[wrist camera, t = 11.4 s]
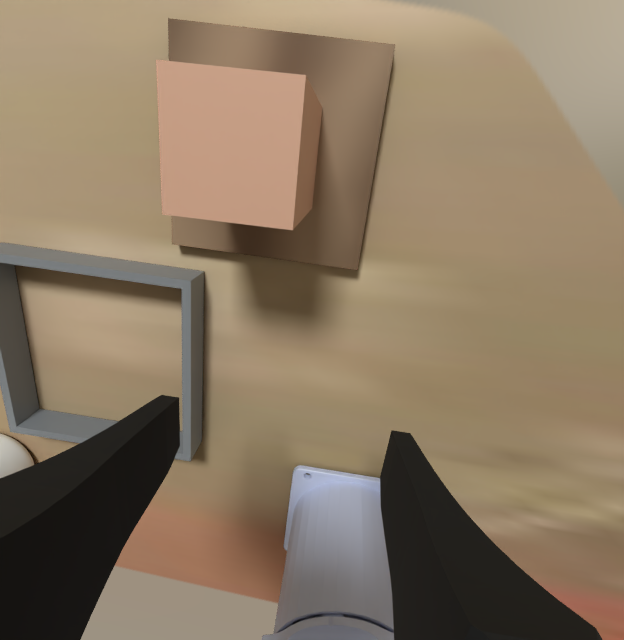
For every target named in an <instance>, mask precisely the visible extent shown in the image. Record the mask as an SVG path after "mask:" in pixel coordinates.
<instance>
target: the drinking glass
mask: <svg viewBox="0 0 624 640" xmlns="http://www.w3.org/2000/svg"><path fill="white" fill-rule="evenodd" d="M33 465H35V464H34V461H33V459H32V456H31V455H30V453H29V452H28V451H27V449H26V448H25V447H24V446H23V445H22V444H20V443H19V442H18V441H16V440H15V439H13V438H11V437H9V436H7V435H4V434H1V433H0V478H2V477H5V476H8V475H10V474H13V473H15V472H18V471H20V470H23V469H25V468H28V467H30V466H33Z"/></svg>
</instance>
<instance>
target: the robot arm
mask: <svg viewBox="0 0 624 640" xmlns="http://www.w3.org/2000/svg"><path fill="white" fill-rule="evenodd" d="M179 447H180V424H179V398H178V397H171V396H165V395H161V396H159V397H157V398H156V399H154V400H152V401H151V402H149V403H147V404H146V405H144V406H143V407H141V408H140V409H138V410H136V411H135V412H133V413H132V414H130V415H128V416H127V417H125V418H124V419H122V420H120V421H119V422H117V423H115V424H114V425H112V426H110V427H109V428H107V429H105V430H103V431H102V432H100V433H98V434H96V435H94V436H93V437H91V438H89V439H87V440H85V441H84V442H82V443H80V444H78V445H76V446H74V447H72V448H70V449H68V450H66V451H64V452H62V453H60V454H58V455H56V456H53V457H51V458H49V459H47V460H45V461H42V462H40V463H38V464H35V465H33V466H30V467H28V468H25V469H23V470H20V471H18V472H15V473H13V474H10V475H8V476H5V477H2V478H0V640H80V639H81V637H82V634H83V632H84V630H85V628H86V625H87V623H88V621H89V619H90V616H91V614H92V612H93V610H94V608H95V606H96V603H97V601H98V599H99V597H100V595H101V592H102V590H103V588H104V586H105V584H106V582H107V580H108V578H109V575H110V573H111V571H112V569H113V567H114V565H115V563H116V561H117V559H118V557H119V555H120V553H121V551H122V549H123V547H124V545H125V543H126V542H127V540H128V538H129V536H130V535H131V533H132V531H133V530H134V528H135V526H136V525H137V523H138V521H139V520H140V518H141V516H142V515H143V513H144V512H145V510H146V508H147V507H148V505H149V503H150V502H151V500H152V498H153V497H154V495H155V494H156V492H157V490H158V489H159V487H160V485H161V484H162V482H163V480H164V479H165V477H166V475H167V473H168V471H169V469H170V467H171V465H172V463H173V461H174V458H175V456H176V454H177V451H178V449H179ZM305 473H309V474H310V475H307V474H305ZM284 549H285V550H286V551H287V555H286V561H285V567H284V573H283V579H282V585H281V591H280V597H279V603H278V609H277V615H276V622H275V628H274V634H270V635H263V636H262V640H602V638H601V636H600V635H599V633H598V631H597V630H596V628H595V627H593V626H592V625H591V624H589V623H588V622H587V621H585V620H584V619H583V618H581V617H580V616H579V615H577V614H576V613H575V612H573V611H572V610H571V609H570V608H568V607H567V606H566V605H564V604H563V603H562V602H560V601H559V600H558V599H556V598H555V597H554V596H552V595H551V594H550V593H549V592H548V591H546V590H545V589H544V588H543V587H542V586H540V585H539V584H538V583H537V582H536V581H534V580H533V579H532V578H531V577H530V576H529V575H527V574H526V573H525V572H524V571H523V570H522V569H521V568H520V567H518V566H517V565H516V564H515V563H514V562H513V561H512V560H511V559H510V558H509V557H508V556H507V555H506V554H505V553H504V552H502V551H501V550H500V549H499V548H498V547H497V546H496V545H495V544H494V543H493V542H492V541H491V540H490V539H489V538H488V537H487V536H486V535H485V533H484V532H483V531H482V530H481V529H480V528H479V527H478V526H477V525H476V524H475V522H474V521H473V520H472V519H471V518H470V517H469V516H468V515H467V513H466V512H465V511H464V510H463V509H462V508H461V506H460V505H459V504H458V502H457V501H456V500H455V499H454V497H453V496H452V495H451V493H450V492H449V491H448V489H447V488H446V487H445V485H444V484H443V482H442V481H441V480H440V478H439V477H438V475H437V474H436V472H435V471H434V469H433V468H432V466H431V465H430V463H429V462H428V460H427V459H426V457H425V456H424V454H423V453H422V451H421V449H420V448H419V446H418V445H417V443H416V441H415V440H414V438H413V437H412V435H411V434H410V433H405V432H398V431H391V435H390V439H389V443H388V447H387V451H386V456H385V460H384V464H383V468H382V472H381V476H380V478H376V477H369V476H363V475H357V474H351V473H345V472H339V471H333V470H326V469H320V468H314V467H308V466H302V465H299V466H296V467H295V468H294V471H293V477H292V485H291V492H290V500H289V508H288V516H287V523H286V531H285V539H284Z"/></svg>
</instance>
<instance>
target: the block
mask: <svg viewBox="0 0 624 640" xmlns="http://www.w3.org/2000/svg"><path fill="white" fill-rule="evenodd" d="M156 68H157V93H158V119H159V144H160V169H161V195H162V214H163V215H171V216H180V217H188V218H196V219H204V220H212V221H221V222H229V223H237V224H245V225H253V226H262V227H270V228H278V229H286V230H293V229H294V228H295V227H296V226H297V225H298V224H299V223H300V222H301V220H302V219H303V218H304V217H305V216H306V215H307V214H308V213H309V211H310V210H311V209H312V205H313V195H314V185H315V175H316V165H317V156H318V146H319V136H320V126H321V116H322V106H321V104H320V102H319V100H318V98H317V96H316V94H315V92H314V90H313V88H312V86H311V84H310V82H309V80H308V78H307V76H306V75H300V74H291V73H281V72H271V71H261V70H252V69H242V68H232V67H223V66H213V65H203V64H193V63H184V62H174V61H164V60H156Z"/></svg>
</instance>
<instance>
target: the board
mask: <svg viewBox="0 0 624 640" xmlns="http://www.w3.org/2000/svg"><path fill="white" fill-rule="evenodd" d="M168 35H169V61H174V62H184V63H193V64H203V65H213V66H223V67H232V68H242V69H252V70H261V71H271V72H281V73H291V74H300V75H306V76H307V78H308V80H309V82H310V84H311V86H312V88H313V90H314V92H315V94H316V96H317V98H318V100H319V102H320V104H321V106H322V116H321V126H320V136H319V146H318V156H317V165H316V175H315V185H314V195H313V205H312V209H311V210H310V211H309V213H308V214H307V215H306V216H305V217H304V218H303V219H302V220H301V222H300V223H299V224H298V225H297V226H296V227H295V228H294V229H293V230H286V229H278V228H270V227H262V226H253V225H245V224H237V223H229V222H221V221H212V220H204V219H196V218H188V217H180V216H172V244H175V245H182V246H189V247H196V248H203V249H210V250H217V251H224V252H232V253H239V254H246V255H253V256H260V257H267V258H274V259H282V260H289V261H296V262H303V263H310V264H317V265H324V266H332V267H339V268H346V269H353V270H358V264H359V258H360V252H361V246H362V240H363V234H364V228H365V222H366V216H367V210H368V204H369V198H370V192H371V186H372V181H373V175H374V169H375V163H376V157H377V151H378V145H379V139H380V133H381V127H382V121H383V115H384V109H385V103H386V97H387V91H388V85H389V79H390V73H391V67H392V61H393V55H394V49H395V44H386V43H378V42H369V41H360V40H352V39H343V38H334V37H325V36H317V35H308V34H299V33H291V32H282V31H273V30H265V29H256V28H247V27H239V26H230V25H221V24H212V23H204V22H195V21H186V20H178V19H169V18H168Z"/></svg>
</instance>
